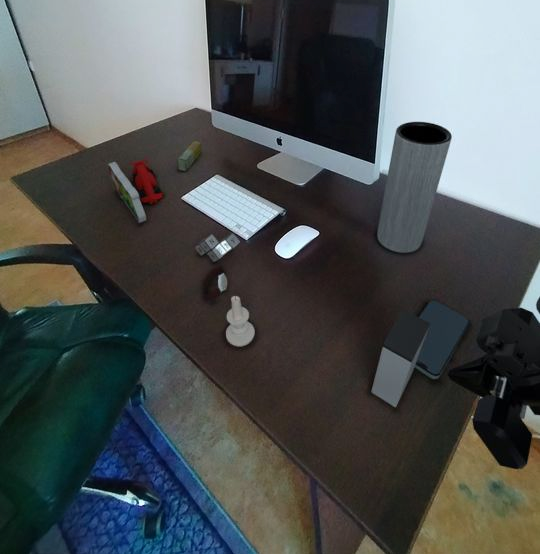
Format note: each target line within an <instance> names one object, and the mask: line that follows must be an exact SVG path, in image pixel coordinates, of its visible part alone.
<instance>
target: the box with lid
mask: <svg viewBox="0 0 540 554" xmlns="http://www.w3.org/2000/svg"><path fill="white" fill-rule="evenodd" d="M429 326H430V323H429V322H427V321H425V320H423V319H421V318H419V317H418V315H416V314H414V313H411V312H409V311H407V310H406V309H402V311H401V312H400V314H399V316H398V318H397V320H396V321H395V323H394V324H393V327H391V330H390V332H389V333H388V335H387V337H386V339H385V340H384V342H383V345H382V348H381V352H380V357H379V360H378V363H377V368H376V372H375V375H374V380H373V383H372V388H371V391H370V392H371V393H372V394H373V395H375V396H376V397H378V398H380V399H381V400H383V401H384V402H386V403H387V404H389V405H391V406H392V407H394V408H397V406H398V404H399V402H400V400H401V398H402V396H403V393H404V392H405V390H406V389H405V388H406V387H407V385H408V383H409V381H410V378H411V377H412V374H413V373H414V370H415V364H416V361H417V359H418V356H419V353H420V350H421V348H422V345H423V342H424V340H425V337H426V334H427V331H428V329H429Z"/></svg>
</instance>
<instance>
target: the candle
mask: <svg viewBox="0 0 540 554" xmlns="http://www.w3.org/2000/svg"><path fill="white" fill-rule="evenodd" d="M230 300H231V308H230V309H229V310H228V311H227V313H226V320H227V322H228V323H229V325H228V326H227V328H226V331H225V337H226V341H227V342H228V343H229V345H232V346H233V347H244V346H247V345H249V344H250V343H251V342H252V341H253V340H254V338H255V334H256V333H255V327H254V325H253V324H252V323H251V322H249V321H248V320H249V317H250V313H249V310H248V309H247V308H245V307H243V306H242V302H241V297H239V296H238V295H233V296H231V298H230Z"/></svg>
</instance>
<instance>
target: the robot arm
mask: <svg viewBox="0 0 540 554" xmlns="http://www.w3.org/2000/svg"><path fill="white" fill-rule="evenodd" d="M535 308H536V310H537V312H538V314H539V315H540V296H539V297H538V299H537V301H536V302H535ZM475 342H476V344H477V346H478V348H479V349H481V351H483V352H484V353H486V354H485V355H483V356H481V357H479V358H477V359H475V360H472V361H469V362H467V363H463V364H461V365H459V366H456V367H454V368H451V369H449V370H448V372H447V377H448V379H449V380H450V381H451V382H452V383H455V384H457V385H458V386H461V387H462V388H464V389H466V390H468V391H469V392H471V393H473V394H474V395H477V396H479V397H480V398H479V399H478V400H477V404H476V407H475V409H474V412H473V416H472V419H471V421H472V426H473V430H474V432H475V433H476V434H477V436H478V437H479V438H480V440H481V441H482V443H483V444H484V445H485V447H486V449H487V450H488V451H489V453H490V454H491V455H492V457H493V458H494V460H495V461H496V462H497V464H498V465H499V466H500V467H503V468H507V469H508V468H509V469H513V470H522V469H524V468H525V467H526V466H527V465H528V461H529V456H530V450H531V445H532V440H533V433H532V431H530V429H529V427H528V426H527V425H526V424H525V421H524V420H525V417H526V413H527V409H528V408H529V409H530V411H531V412H532V413H533V415H534V416H540V321H539V319H538V318H537V316H536V315H535V313H534V312H533V311H531V310H528V309H526V308H523V307H514V308H513V307H512V308H503V309H501V310H499V311H496V312H495V313H492V314H490V315H488V316H486V317H484V318H482V321H481V326H480V329H479V331H478V333H477V335H476V338H475ZM527 407H528V408H527Z"/></svg>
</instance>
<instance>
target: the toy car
mask: <svg viewBox="0 0 540 554" xmlns="http://www.w3.org/2000/svg"><path fill="white" fill-rule="evenodd" d="M148 161H149V160H148V158H144V159H141V160H137V161H132V162H129V164H130V166H134V167H133V168H132V170H131V175H132V178H133V182H134V183H135V185H136V188H137V190H138V191H139V192H138V194H139V199H140V202H141V203H144V204H145V203H146V204H147V203H149V204H150V205H153V203H154V204H155V203H158V200H160V199H162V198H163V192H162V190H161V187H160V186H157V182H156V178H155V174H154V170H153V168H151V167H150V166H149V165H148V164H145V163H146V162H148Z"/></svg>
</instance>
